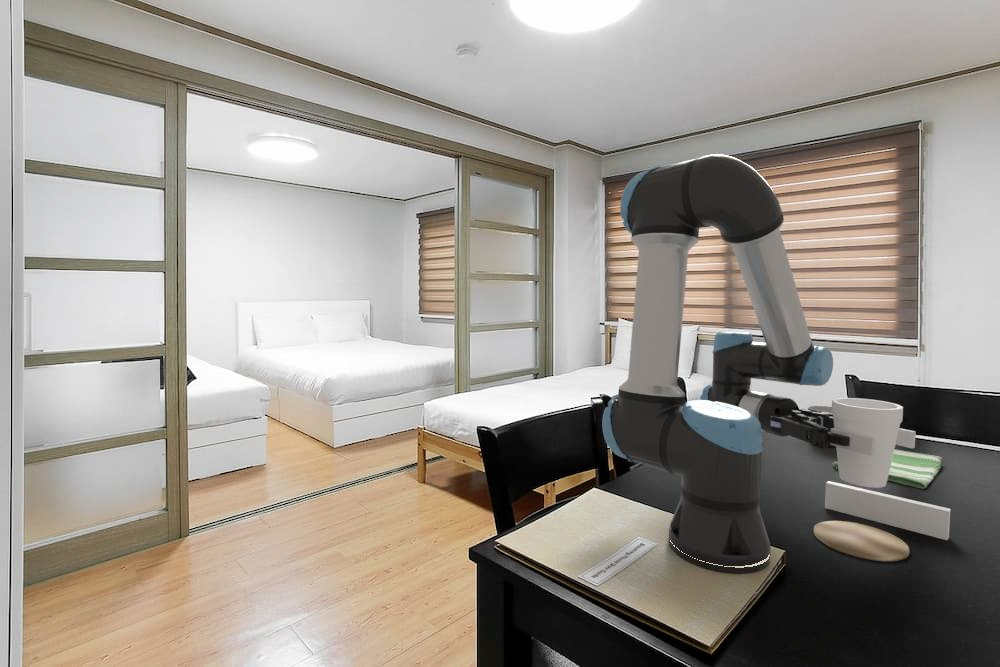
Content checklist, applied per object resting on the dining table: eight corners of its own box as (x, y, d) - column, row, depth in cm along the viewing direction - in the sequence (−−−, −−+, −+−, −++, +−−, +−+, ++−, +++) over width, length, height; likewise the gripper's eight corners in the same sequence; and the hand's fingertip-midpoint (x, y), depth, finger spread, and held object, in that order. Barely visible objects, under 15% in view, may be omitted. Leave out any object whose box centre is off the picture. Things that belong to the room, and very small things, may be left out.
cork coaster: (900, 570, 76) (900, 566, 76) (803, 540, 85) (803, 536, 85) (915, 542, 85) (916, 538, 85) (826, 517, 94) (826, 514, 94)
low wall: (947, 540, 85) (949, 511, 85) (824, 507, 98) (825, 482, 98) (948, 537, 86) (950, 508, 86) (827, 505, 100) (828, 480, 99)
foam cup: (836, 467, 91) (840, 395, 90) (902, 480, 84) (906, 403, 84) (822, 480, 84) (826, 403, 83) (892, 496, 78) (897, 412, 77)
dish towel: (829, 469, 122) (830, 458, 121) (858, 450, 137) (859, 440, 137) (925, 491, 108) (926, 478, 108) (945, 467, 123) (946, 456, 123)
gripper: (807, 427, 105) (934, 458, 84) (727, 438, 96) (846, 476, 76) (808, 391, 104) (937, 413, 84) (728, 399, 96) (849, 426, 75)
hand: (894, 443), depth 80 cm, fingers closed on foam cup, 9 cm apart
